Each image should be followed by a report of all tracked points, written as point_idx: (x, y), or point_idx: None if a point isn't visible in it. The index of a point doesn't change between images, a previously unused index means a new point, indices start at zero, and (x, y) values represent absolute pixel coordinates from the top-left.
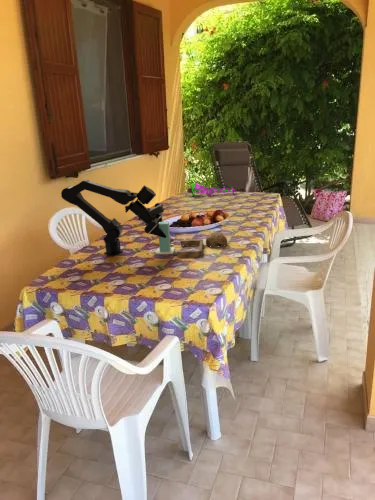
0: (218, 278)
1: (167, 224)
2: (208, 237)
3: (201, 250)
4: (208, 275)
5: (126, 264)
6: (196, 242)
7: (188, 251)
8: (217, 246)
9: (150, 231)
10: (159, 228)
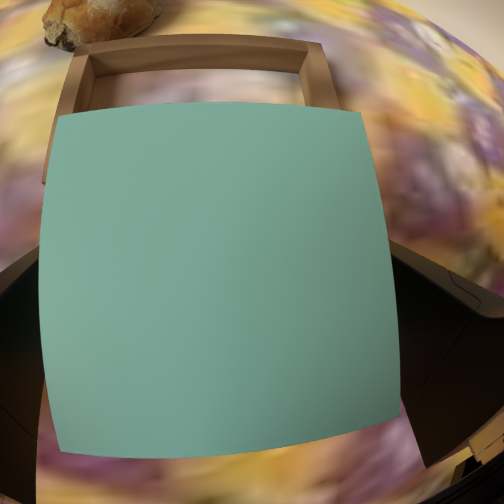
0: (479, 72)
1: (356, 124)
2: (114, 2)
3: (307, 41)
4: (477, 88)
5: (439, 464)
6: (85, 82)
7: (336, 101)
8: (157, 6)
9: (452, 453)
10: (494, 302)
